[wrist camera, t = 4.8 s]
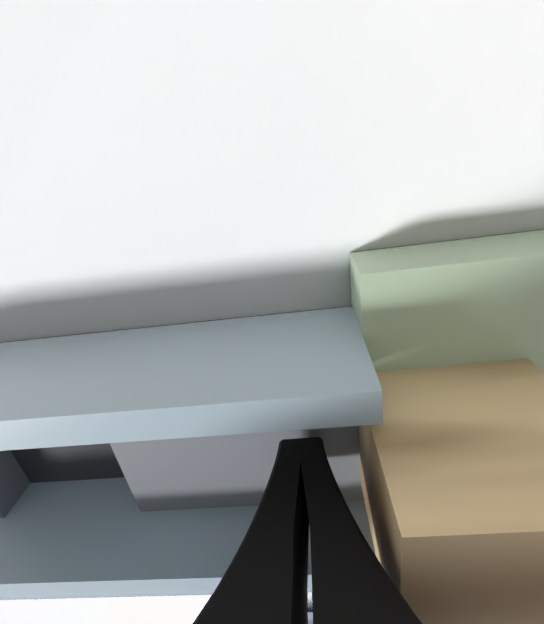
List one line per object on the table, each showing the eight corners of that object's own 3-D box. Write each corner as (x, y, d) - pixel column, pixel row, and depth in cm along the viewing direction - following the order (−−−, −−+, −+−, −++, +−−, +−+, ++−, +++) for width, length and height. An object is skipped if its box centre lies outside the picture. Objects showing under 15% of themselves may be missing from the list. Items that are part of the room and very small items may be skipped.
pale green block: (593, 490, 16) (700, 615, 12) (22, 518, 18) (-54, 627, 14) (698, 211, 10) (958, 259, 6) (-122, 308, 13) (-306, 385, 9)
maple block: (504, 476, 13) (623, 663, 8) (361, 484, 13) (398, 664, 9) (528, 358, 10) (706, 524, 6) (355, 373, 11) (401, 537, 6)
